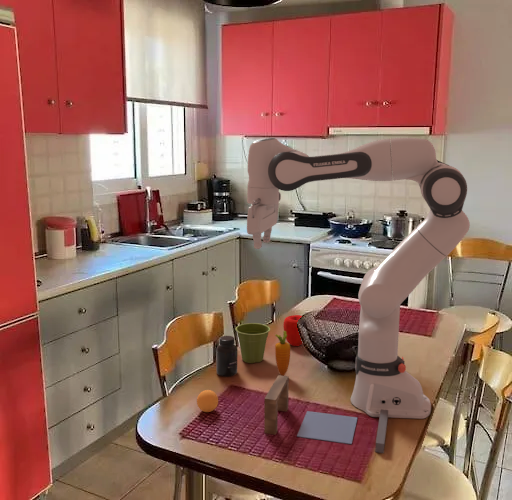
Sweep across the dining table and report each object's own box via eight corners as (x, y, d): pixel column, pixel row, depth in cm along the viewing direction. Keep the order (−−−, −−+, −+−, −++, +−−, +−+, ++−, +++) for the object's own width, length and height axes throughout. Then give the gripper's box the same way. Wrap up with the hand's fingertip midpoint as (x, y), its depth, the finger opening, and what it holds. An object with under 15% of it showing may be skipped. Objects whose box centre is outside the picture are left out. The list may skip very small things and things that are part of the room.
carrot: (279, 381, 182) (279, 335, 179) (271, 375, 187) (272, 330, 184) (293, 378, 185) (293, 333, 181) (285, 372, 189) (285, 328, 186)
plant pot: (270, 366, 193) (270, 334, 191) (234, 366, 194) (234, 334, 191) (270, 353, 205) (270, 322, 203) (236, 352, 205) (236, 322, 203)
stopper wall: (387, 418, 159) (388, 410, 158) (383, 453, 142) (384, 443, 141) (380, 417, 159) (380, 409, 159) (375, 452, 142) (375, 442, 142)
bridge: (288, 408, 165) (288, 376, 163) (275, 434, 150) (275, 400, 148) (278, 407, 165) (278, 375, 163) (264, 433, 151) (264, 398, 149)
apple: (291, 338, 219) (291, 310, 217) (311, 343, 214) (312, 315, 212) (278, 345, 212) (278, 317, 210) (299, 350, 207) (299, 321, 205)
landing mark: (357, 418, 159) (357, 417, 159) (351, 444, 146) (351, 443, 146) (307, 411, 163) (307, 410, 163) (296, 436, 149) (296, 435, 149)
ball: (221, 407, 165) (221, 387, 164) (214, 417, 160) (213, 397, 158) (201, 404, 167) (201, 385, 166) (193, 414, 161) (193, 394, 160)
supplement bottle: (234, 378, 185) (234, 342, 182) (214, 376, 186) (213, 341, 183) (239, 369, 191) (239, 335, 189) (219, 367, 192) (219, 333, 190)
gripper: (264, 201, 152) (263, 253, 155) (282, 193, 172) (281, 239, 175) (241, 200, 154) (240, 251, 157) (261, 192, 173) (261, 238, 176)
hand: (262, 245), depth 166 cm, fingers open, 8 cm apart
